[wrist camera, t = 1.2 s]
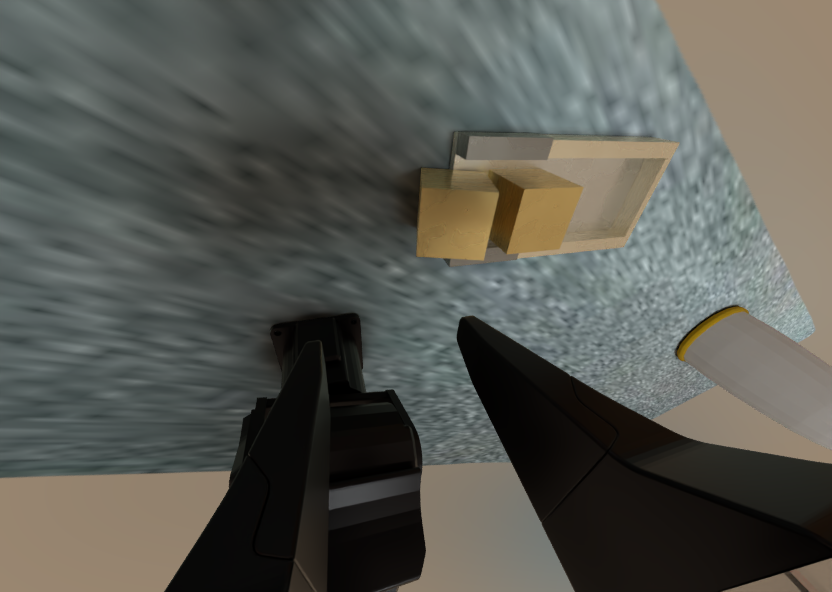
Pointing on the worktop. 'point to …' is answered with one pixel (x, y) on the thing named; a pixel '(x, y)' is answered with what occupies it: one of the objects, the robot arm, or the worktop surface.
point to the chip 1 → (454, 213)
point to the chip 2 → (531, 209)
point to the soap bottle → (764, 371)
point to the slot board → (574, 180)
